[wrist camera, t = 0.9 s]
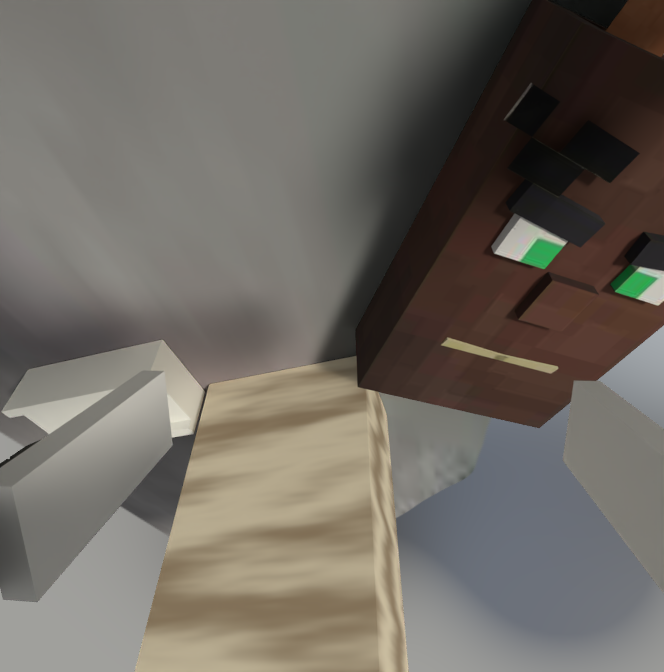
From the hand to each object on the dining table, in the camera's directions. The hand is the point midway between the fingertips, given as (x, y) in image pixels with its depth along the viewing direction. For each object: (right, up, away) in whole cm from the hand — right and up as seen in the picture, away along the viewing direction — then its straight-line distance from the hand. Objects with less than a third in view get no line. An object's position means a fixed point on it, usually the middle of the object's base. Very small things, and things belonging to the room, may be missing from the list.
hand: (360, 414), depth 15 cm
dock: (-22, -2, +31) cm, 38 cm away
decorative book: (+13, +10, +19) cm, 25 cm away
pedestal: (-4, -4, +32) cm, 33 cm away
